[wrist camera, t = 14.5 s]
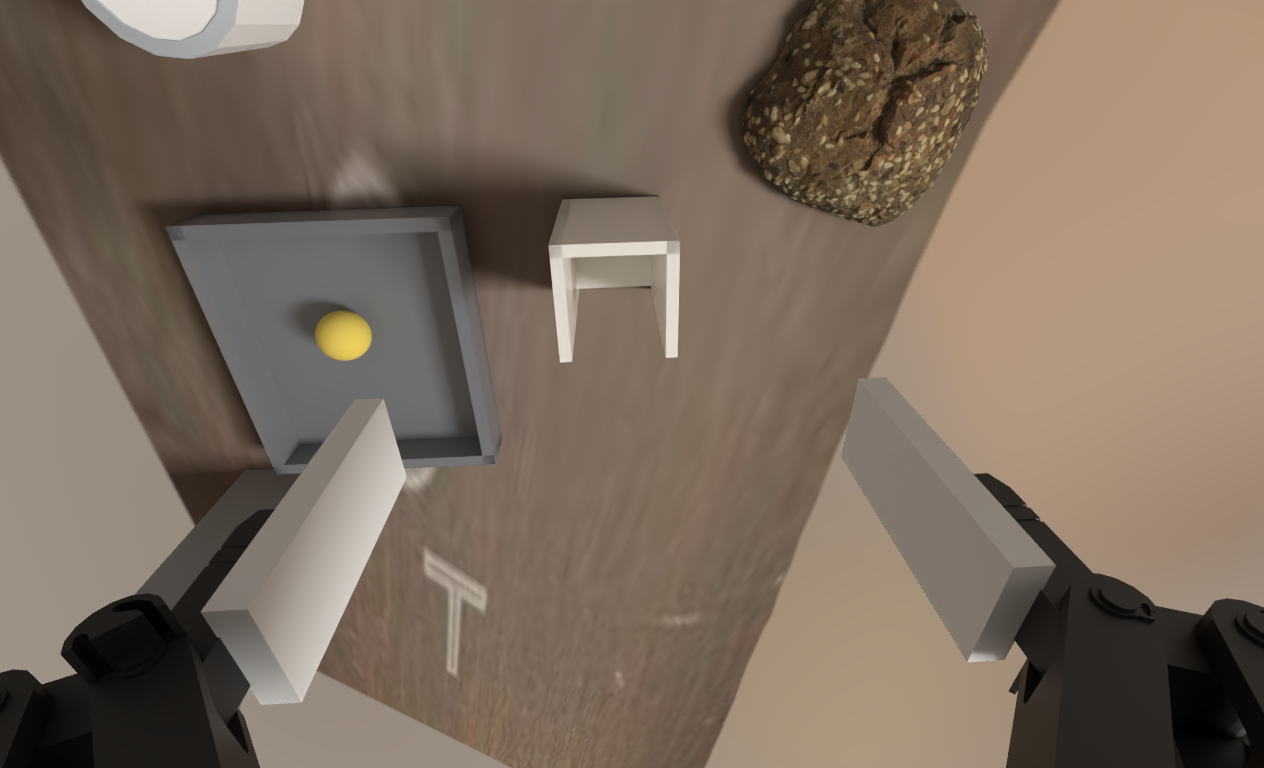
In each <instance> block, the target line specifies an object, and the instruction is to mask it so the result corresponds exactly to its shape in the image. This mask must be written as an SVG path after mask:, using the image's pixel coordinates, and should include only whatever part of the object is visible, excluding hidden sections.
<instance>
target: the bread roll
mask: <svg viewBox="0 0 1264 768" xmlns="http://www.w3.org/2000/svg"><path fill="white" fill-rule="evenodd" d="M989 43H990V42H989V40H988V38H987V37H985V36H984V34H983V30H982V29H981V26H980V25H979V20H978V18H977V17H976V16H975V15H974V14H973V13H972V12H970V11H966V10H964V9H963V7H962V6H961V5H960V4H959V3H958V0H815V1H814V3H813V4H812V6H811V7H810V8H809V10H808V11H807V12H806V14H805V15H804V16H803V17H802V18H801V19H800V20H798V21H797V22H796V23H794V26H793V28H792V30H791V32H790V33H789V34H788V36H787V37H786V45H785V46H784V47H783V49H782V51H781V53H780V56H779V58H778V60H777V61H776V63H775V64H774V65H773V66H772V68H771V69H770V70H769V72H768V73H767V74H766V76H765V77H764V78H763V79H762V80H760V81H759V82H758V83H757V84H756V85H755V86H754V87H753V88H752V90H751V91H750V92H749V94H748V95H747V96H748V98H749V102H748V110H747V111H746V113H745V114H744V116H743V117H742V124H743V130H744V142H745V144H746V145H747V146H748V149H749V153H750V154H751V157H752V158H754V159H755V160H756V161H757V162H758V164H759V165H760V167H761V169H762V170H763V173H764V176H765V177H766V178H767V179H768V180H771V181H772V183H773V184H775V185H776V186H777V187H778V188H779V189H780V190H781V191H782V192H783V193H785V194H787V195H790V198H792V199H794V200H799V201H800V202H802V203H805V204H807V205H808V206H809V207H814V208H816V209H819V210H822V211H824V212H828V213H830V214H832V215H835V216H839V217H841V218H846V219H847V220H849V221H851V220H856V221H857V222H858V223H862V225H863V224H866V225H869V226H873V227H874V226H879V225H882V224H886V223H888V222H891V221H893V220H894V219H895V218H897V217H898V216H900V215H902V214H903V213H905V212H907V210H908V209H909V208H911V207H912V205H914V204H915V203H916V202H917V200H918V199H919V198H920V197H921V196H922V195H923V194H924V193H925V192H926V191H927V190H928V189H929V188H931V187H932V185H933V183H934V182H935V180H936V178H937V177H938V175H939V173H940V171H941V169H942V168H943V166H944V164H945V163H946V162H947V161H948V160H949V159H950V157H951V154H952V152H953V150H954V148H955V147H956V145H957V140H958V139H959V138H960V137H961V132H962V131H963V129H964V127H965V125H966V123H967V122H968V121H969V119H970V116H971V113H972V112H973V109H974V106H975V104H976V103H977V99H978V97H979V93H980V84H981V82H982V80H983V78H984V73H985V72H987V63H988V58H989V57H988V56H987V45H988V44H989Z"/></svg>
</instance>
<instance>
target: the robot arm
mask: <svg viewBox="0 0 1264 768" xmlns="http://www.w3.org/2000/svg"><path fill="white" fill-rule="evenodd" d="M842 458H843V460H844V462H845V463H846V465H847V467H848V468H849V470H850V472H851V473H852V475H853V476H854V478H855V480H856V481H857V483H858V485H859V486H860V488H861V490H862V491H863V493H864V494H865V496H866V498H867V499H868V501H869V502H870V504H871V506H872V507H873V509H874V510H875V512H876V514H877V516H878V517H879V519H880V521H881V522H882V524H883V525H884V527H885V529H886V530H887V532H888V534H889V535H890V537H891V538H892V540H893V542H894V543H895V545H896V547H897V548H898V550H899V551H900V553H901V555H902V556H903V558H904V560H905V561H906V563H907V565H908V566H909V568H910V570H911V571H912V573H913V574H914V576H915V578H916V579H917V581H918V583H919V584H920V586H921V587H922V589H923V591H924V592H925V594H926V596H927V597H928V599H929V600H930V602H931V604H932V605H933V607H934V609H935V610H936V612H937V614H938V615H939V617H940V619H941V620H942V622H943V623H944V625H945V627H946V628H947V630H948V632H949V633H950V635H951V636H952V638H953V640H954V641H955V643H956V645H957V646H958V648H959V649H960V651H961V653H962V654H963V656H964V658H965V659H966V661H967V662H977V661H994V660H1004V659H1005V658H1006V656H1007V654H1008V652H1009V650H1010V649H1011V647H1012V645H1013V643H1014V641H1016V643H1017V644H1018V645H1019V647H1020V648H1021V650H1022V651H1023V652H1024V654H1025V655H1026V657H1027V660H1026V662H1025V663H1024V665H1023V667H1022V668H1021V670H1020V672H1019V674H1018V675H1017V677H1016V679H1015V681H1014V682H1013V684H1012V686H1011V688H1010V689H1009V692H1011V693H1013V694H1016V692H1017V691H1018V695H1017V702H1016V708H1015V714H1014V720H1013V727H1012V733H1011V739H1010V746H1009V752H1008V759H1007V765H1006V768H1264V607H1260V606H1258V605H1254V604H1252V603H1249V602H1246V601H1241V600H1234V599H1228V598H1227V599H1222V600H1217V601H1215V602H1214V603H1213V604H1212V606H1211V607H1210V608H1209V609H1208V611H1207V612H1206V613H1205V614H1204V616H1203V615H1198V614H1193V613H1188V612H1183V611H1178V610H1173V609H1168V608H1163V607H1158V606H1155V605H1154V604H1153V602H1152V601H1151V600H1150V599H1149V598H1148V597H1147V596H1145V595H1144V594H1142V593H1141V592H1140V591H1138V590H1137V589H1136V588H1134V587H1133V586H1131V585H1128V584H1126V583H1124V582H1122V581H1120V580H1118V579H1116V578H1113V577H1109V576H1106V575H1102V574H1094V573H1092V572H1091V571H1090V570H1089V569H1088V568H1087V567H1086V565H1085V564H1084V563H1083V562H1082V561H1081V560H1080V559H1079V558H1078V557H1077V556H1076V555H1075V554H1074V553H1073V552H1072V551H1071V550H1070V549H1069V548H1068V547H1067V546H1066V545H1065V544H1064V543H1063V542H1062V541H1061V540H1060V539H1059V537H1057V535H1056V534H1054V532H1053V531H1052V530H1051V529H1050V528H1049V527H1048V526H1047V525H1046V524H1045V523H1044V522H1041V521H1040V518H1039V517H1038V516H1037V515H1036V514H1035V513H1034V512H1033V510H1032V509H1030V508H1027V505H1026V503H1025V502H1024V501H1023V500H1022V499H1021V498H1020V497H1019V496H1018V495H1017V494H1016V493H1015V492H1014V491H1013V490H1012V489H1011V488H1010V487H1009V486H1007V485H1005V484H1004V483H1002V482H1001V481H999V480H997V479H996V478H994V477H993V476H991V475H990V474H988V473H984V474H973V473H972V472H971V471H970V470H969V469H968V468H967V467H966V465H965V464H964V463H963V462H962V461H961V460H960V459H959V458H958V457H957V456H956V454H955V453H954V452H953V451H952V450H951V449H950V448H949V447H948V446H947V444H946V443H945V442H944V441H943V440H942V439H941V438H940V437H939V436H938V435H937V433H936V432H935V431H934V430H933V429H932V428H931V427H930V426H929V425H928V424H927V423H926V421H925V420H924V419H923V418H922V417H921V416H920V415H919V414H918V413H917V411H916V410H915V409H914V408H913V407H912V406H911V405H910V404H909V403H908V402H907V400H906V399H905V398H904V397H903V396H902V395H901V394H900V393H899V392H898V390H896V388H895V387H894V386H893V385H892V384H891V383H890V382H889V381H888V379H887V378H861V379H859V380H858V384H857V389H856V393H855V398H854V402H853V407H852V411H851V416H850V420H849V425H848V429H847V433H846V438H845V442H844V447H843V451H842ZM405 479H406V473H405V470H404V466H403V463H402V460H401V456H400V453H399V449H398V446H397V443H396V439H395V436H394V433H393V429H392V426H391V422H390V419H389V416H388V412H387V409H386V405H385V402H384V399H383V398H380V399H356V400H354V401H353V403H352V404H351V405H350V407H349V408H348V410H347V411H346V412H345V414H344V415H343V416H342V418H341V419H340V421H339V422H338V423H337V425H336V426H335V427H334V429H333V430H332V432H331V433H330V434H329V436H328V437H327V438H326V440H325V441H324V443H323V444H322V445H321V447H320V448H319V449H318V451H317V452H316V454H315V455H314V456H313V458H312V459H311V460H310V462H309V463H308V465H307V466H306V467H305V469H304V470H303V471H302V473H301V474H300V476H299V477H298V478H297V480H296V481H295V483H294V484H293V485H292V487H291V488H290V489H289V491H288V492H287V494H286V495H285V496H284V498H283V499H282V500H281V502H280V503H279V505H278V506H277V507H276V509H266V510H258V511H257V512H255V513H254V514H253V515H251V516H250V517H249V518H247V519H246V520H245V521H244V522H242V523H241V524H240V525H238V526H237V527H236V528H235V529H234V531H233V532H232V533H231V534H230V536H229V537H228V538H227V540H226V541H225V542H224V543H223V545H222V546H221V550H218V551H217V552H216V554H215V555H214V556H213V557H212V559H211V560H210V561H209V565H208V566H205V568H204V569H203V570H202V572H201V573H200V574H199V575H198V577H197V578H196V579H195V580H194V582H193V583H192V584H191V586H190V587H189V588H188V589H187V591H186V592H185V593H184V595H183V596H182V597H181V598H180V600H179V601H178V602H177V604H176V605H175V606H174V607H173V609H172V610H170V609H169V607H168V606H167V605H166V603H165V602H164V601H163V599H162V598H161V597H160V596H158V595H154V594H149V593H146V594H139V595H131V596H129V597H126V598H123V599H120V600H117V601H115V602H112V603H110V604H109V605H107V606H105V607H103V608H101V609H100V610H98V611H96V612H94V613H93V614H91V615H90V616H89V617H88V618H86V619H85V620H84V621H83V622H81V623H80V624H79V625H78V626H76V627H75V629H74V630H73V631H72V632H71V634H70V635H69V636H68V638H67V639H66V640H65V641H64V644H63V647H62V651H61V655H62V657H63V658H64V659H65V660H66V661H67V662H68V663H69V664H70V665H71V666H72V668H74V670H75V671H76V672H77V673H78V674H74V675H71V676H68V677H65V678H62V679H59V680H55V681H52V682H48V683H45V684H41V683H40V682H39V681H38V680H37V679H36V678H35V677H34V676H33V675H32V674H30V673H29V672H28V671H26V670H10V671H6V672H2V673H0V768H260V766H259V763H258V760H257V757H256V753H255V750H254V747H253V744H252V740H251V737H250V734H249V731H248V728H247V725H246V721H245V718H244V716H243V714H242V713H241V711H240V710H239V709H238V707H239V705H240V704H241V702H242V700H243V698H244V696H245V695H246V693H247V691H248V689H249V687H250V689H251V690H252V692H253V693H254V695H255V696H256V698H257V699H258V701H259V703H260V704H261V705H266V704H282V703H299V702H302V700H303V698H304V696H305V694H306V692H307V689H308V687H309V685H310V683H311V681H312V679H313V677H314V674H315V672H316V670H317V668H318V666H319V664H320V662H321V660H322V657H323V655H324V653H325V651H326V649H327V647H328V645H329V642H330V640H331V638H332V636H333V634H334V632H335V629H336V627H337V625H338V623H339V621H340V619H341V617H342V614H343V612H344V610H345V608H346V606H347V604H348V602H349V599H350V597H351V595H352V593H353V591H354V589H355V587H356V584H357V582H358V580H359V578H360V576H361V574H362V572H363V569H364V567H365V565H366V563H367V561H368V559H369V557H370V554H371V552H372V550H373V548H374V546H375V544H376V541H377V539H378V537H379V535H380V533H381V531H382V529H383V526H384V524H385V522H386V520H387V518H388V516H389V514H390V511H391V509H392V507H393V505H394V503H395V501H396V499H397V496H398V494H399V492H400V490H401V488H402V486H403V484H404V481H405Z"/></svg>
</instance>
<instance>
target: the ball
mask: <svg viewBox="0 0 1264 768" xmlns="http://www.w3.org/2000/svg"><path fill="white" fill-rule="evenodd" d="M315 338H316V342H317V345H318V346H319V348H320V349H321V351H322V352H323V353H325V354H326V355H327V356H329V357H331V358H333V359H336V360H341V361H348V360H353V359H356V358H358V357H360V356H362V355H363V354H364V353H365V352H366V351H367V350H368V348H369V346H370V344H371V340H372V333H371V329H370V327H369V325H368V323H367V322H366V321H365V320H364V318H362V317H361V316H360V315H358V314H356V313H354V312H350V311H344V310H340V311H334V312H331V313H329V314H327V315H326V316H324V317H323V318H322V319H321V320H320V321H319V323H318V325H317V327H316V331H315Z"/></svg>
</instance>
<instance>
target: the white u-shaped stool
mask: <svg viewBox="0 0 1264 768" xmlns="http://www.w3.org/2000/svg"><path fill="white" fill-rule="evenodd" d="M548 247H549V257H550V266H551V276H552V286H553V296H554V306H555V316H556V326H557V336H558V346H559V356H560V362H572V356H573V346H574V337H575V327H576V317H577V307H578V297H579V289H580V288H606V287H632V286H651V293H652V298H653V302H654V307H655V311H656V316H657V320H658V325H659V329H660V334H661V338H662V343H663V347H664V352H665V356H666V358H672V357H677V356H678V309H679V263H680V240H679V237H678V235H677V233H676V231H675V229H674V226H673V224H672V222H671V220H670V217H669V215H668V213H667V211H666V209H665V206H664V204H663V202H662V200H661V198H660V196H651V197H622V198H592V199H562V202H561V205H560V209H559V212H558V215H557V218H556V222H555V225H554V228H553V232H552V235H551V238H550V242H549V245H548Z"/></svg>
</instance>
